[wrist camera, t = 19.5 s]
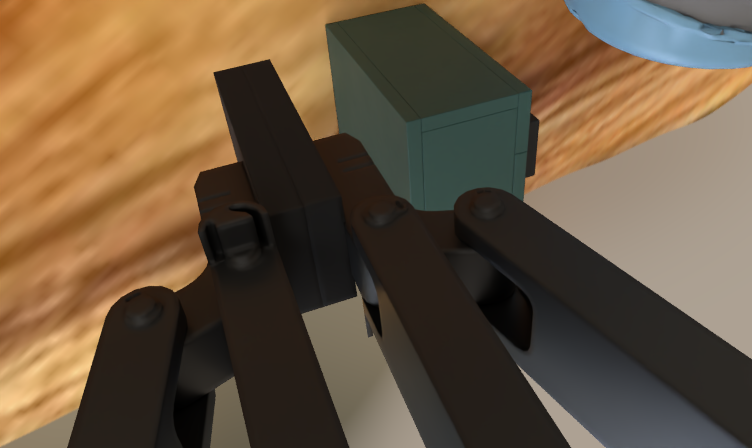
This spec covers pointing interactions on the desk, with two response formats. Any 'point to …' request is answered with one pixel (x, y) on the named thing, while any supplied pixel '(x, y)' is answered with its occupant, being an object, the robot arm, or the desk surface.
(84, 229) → the desk surface
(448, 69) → the teal green box
